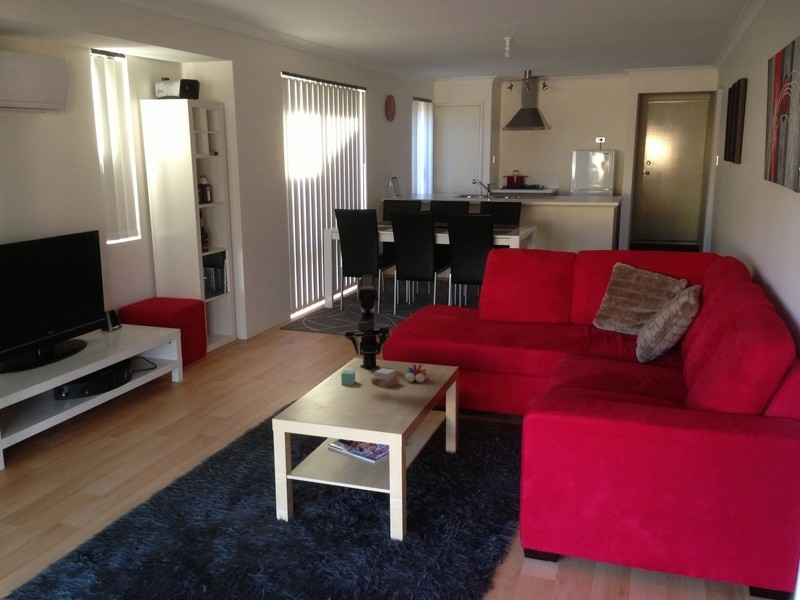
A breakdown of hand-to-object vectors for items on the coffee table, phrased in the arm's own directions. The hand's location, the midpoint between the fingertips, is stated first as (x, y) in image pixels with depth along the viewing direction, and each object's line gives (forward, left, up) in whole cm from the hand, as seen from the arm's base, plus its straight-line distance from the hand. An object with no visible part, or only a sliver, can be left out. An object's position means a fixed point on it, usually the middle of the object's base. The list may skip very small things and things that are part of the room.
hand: (368, 354), depth 287 cm
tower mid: (-1, +8, -12) cm, 14 cm away
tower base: (-1, +8, -15) cm, 17 cm away
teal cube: (-11, -4, -14) cm, 18 cm away
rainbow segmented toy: (+3, +21, -15) cm, 26 cm away
